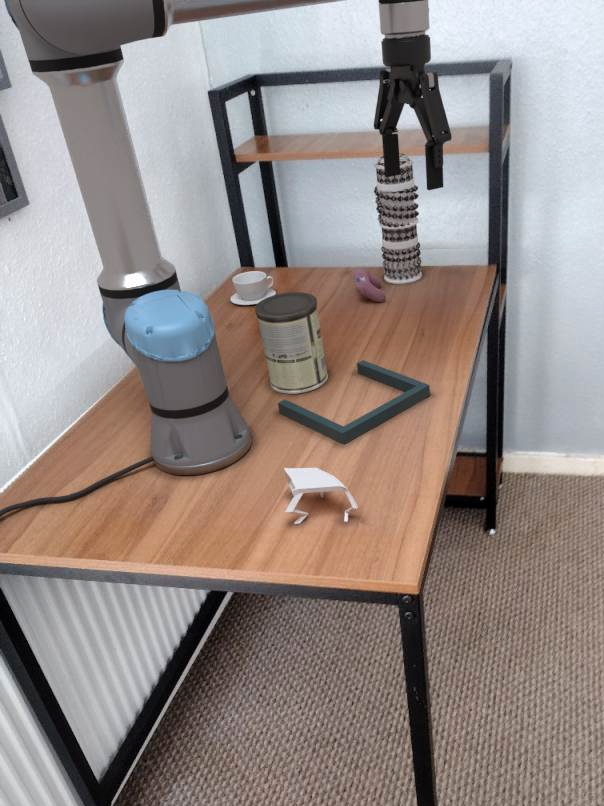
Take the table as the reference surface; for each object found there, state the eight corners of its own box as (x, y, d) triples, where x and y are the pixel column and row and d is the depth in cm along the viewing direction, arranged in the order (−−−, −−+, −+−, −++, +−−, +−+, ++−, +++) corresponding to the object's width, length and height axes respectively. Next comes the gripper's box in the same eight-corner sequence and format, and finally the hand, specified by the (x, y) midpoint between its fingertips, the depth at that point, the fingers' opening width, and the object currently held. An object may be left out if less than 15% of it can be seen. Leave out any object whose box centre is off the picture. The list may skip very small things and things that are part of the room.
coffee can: (264, 375, 141) (249, 299, 133) (320, 362, 143) (308, 287, 135) (276, 399, 133) (261, 320, 125) (335, 386, 135) (323, 307, 127)
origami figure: (267, 525, 104) (260, 494, 102) (291, 489, 111) (286, 459, 108) (352, 535, 101) (348, 504, 98) (372, 497, 107) (368, 467, 104)
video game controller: (365, 295, 172) (347, 268, 168) (382, 283, 171) (365, 256, 167) (369, 312, 164) (351, 284, 160) (388, 300, 163) (369, 272, 159)
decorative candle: (397, 287, 169) (387, 164, 155) (374, 277, 176) (362, 157, 161) (432, 276, 173) (425, 154, 158) (408, 266, 180) (399, 148, 165)
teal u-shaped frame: (279, 413, 129) (277, 402, 128) (364, 370, 139) (362, 359, 138) (344, 444, 119) (342, 433, 118) (430, 395, 129) (429, 384, 128)
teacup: (236, 310, 168) (231, 289, 165) (226, 295, 175) (222, 275, 172) (281, 300, 170) (277, 278, 167) (269, 286, 178) (266, 265, 175)
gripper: (473, 33, 113) (474, 189, 125) (385, 30, 131) (394, 167, 143) (428, 39, 110) (434, 198, 122) (346, 36, 128) (358, 174, 140)
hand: (413, 182), depth 133 cm, fingers open, 13 cm apart
